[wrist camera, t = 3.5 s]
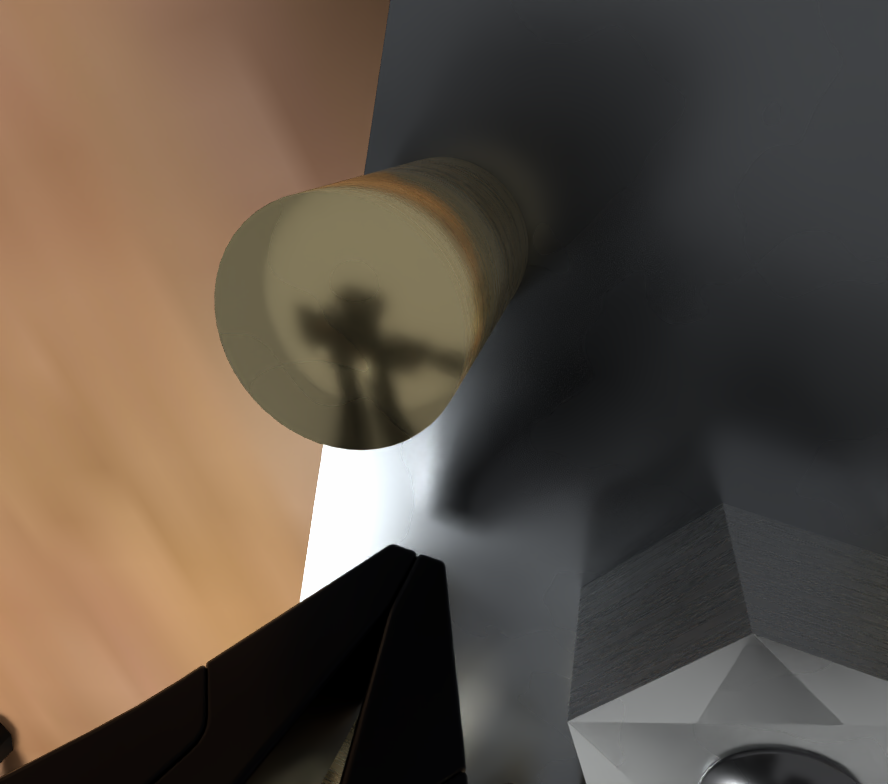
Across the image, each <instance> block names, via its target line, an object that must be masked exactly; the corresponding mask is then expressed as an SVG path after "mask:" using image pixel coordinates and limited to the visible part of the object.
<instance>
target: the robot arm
mask: <svg viewBox="0 0 888 784" xmlns="http://www.w3.org/2000/svg"><path fill="white" fill-rule="evenodd" d="M358 715H359V716H358ZM357 717H358V719H357ZM356 719H357V723H356V726H355V730H354V733H353V737H352V740H351V744H350V747H349V751H348V754H347V758H346V761H345V765H344V769H343V772H342V776H341V779H340V783H339V784H468V776H467V774H466V773H465V772H466V759H465V749H464V739H463V730H462V720H461V710H460V701H459V691H458V681H457V672H456V662H455V652H454V643H453V633H452V623H451V614H450V604H449V594H448V585H447V575H446V566H445V564H444V562H442V561H440V560H437V559H435V558H432V557H429V556H426V555H424V554H420V555H419V556H417V555H416V553H415V551H413V550H410V549H407V548H404V547H402V546H399V545H396V544H391V545H388V546H387V547H385V548H384V549H382V550H380V551H379V552H377V553H376V554H374V555H373V556H371V557H370V558H368V559H366V560H365V561H363V562H362V563H360V564H359V565H357V566H356V567H354V568H353V569H351V570H349V571H348V572H346V573H345V574H343V575H342V576H340V577H339V578H337V579H335V580H334V581H332V582H331V583H329V584H328V585H326V586H325V587H323V588H322V589H320V590H318V591H317V592H315V593H314V594H312V595H311V596H309V597H308V598H306V599H305V600H303V601H301V602H300V603H298V604H297V605H295V606H294V607H292V608H291V609H289V610H287V611H286V612H284V613H283V614H281V615H280V616H278V617H277V618H275V619H274V620H272V621H270V622H269V623H267V624H266V625H264V626H263V627H261V628H260V629H258V630H256V631H255V632H253V633H252V634H250V635H249V636H247V637H246V638H244V639H243V640H241V641H239V642H238V643H236V644H235V645H233V646H232V647H230V648H229V649H227V650H225V651H224V652H222V653H221V654H219V655H218V656H216V657H215V658H213V659H211V660H210V661H208V662H207V664H206V667H205V666H200V667H198V668H197V669H195V670H194V671H192V672H191V673H189V674H188V675H186V676H185V677H183V678H182V679H180V680H179V681H177V682H175V683H174V684H172V685H170V686H169V687H167V688H165V689H164V690H162V691H161V692H159V693H157V694H156V695H154V696H152V697H151V698H149V699H147V700H146V701H144V702H142V703H141V704H139V705H138V706H136V707H134V708H132V709H130V710H128V711H126V712H125V713H123V714H121V715H119V716H117V717H115V718H114V719H112V720H110V721H108V722H106V723H104V724H102V725H101V726H99V727H97V728H95V729H93V730H91V731H90V732H88V733H86V734H84V735H82V736H80V737H78V738H76V739H74V740H72V741H70V742H68V743H66V744H64V745H62V746H60V747H58V748H56V749H55V750H53V751H51V752H49V753H47V754H45V755H43V756H41V757H39V758H37V759H35V760H33V761H31V762H29V763H27V764H25V765H23V766H22V767H20V768H18V769H16V770H14V771H12V772H10V773H8V774H6V775H4V776H2V777H0V784H321V783H322V781H323V780H324V778H325V776H326V774H327V772H328V770H329V769H330V767H331V765H332V763H333V761H334V759H335V757H336V756H337V754H338V752H339V750H340V748H341V746H342V745H343V743H344V741H345V739H346V737H347V735H348V734H349V732H350V730H351V728H352V726H353V724H354V722H355V721H356Z"/></svg>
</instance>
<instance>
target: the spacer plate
mask: <svg viewBox="0 0 888 784" xmlns="http://www.w3.org/2000/svg"><path fill="white" fill-rule="evenodd" d="M215 315H216V323H217V328H218V332H219V336H220V340H221V343H222V346H223V349H224V351H225V354H226V357H227V359H228V361H229V363H230V365H231V367H232V369H233V371H234V372H235V374H236V376H237V377H238V379H239V380H240V382H241V383H242V385H243V386H244V388H245V389H246V390H247V391H248V393H249V394H250V395H251V397H252V398H253V399H254V400H255V401H256V402H257V403H258V404H259V405H260V406H261V407H262V408H263V409H264V410H265V411H266V412H267V413H268V414H269V415H271V416H272V417H273V418H274V419H275V420H277V421H278V422H280V423H281V424H282V425H284V426H285V427H287V428H288V429H290V430H292V431H293V432H295V433H297V434H299V435H301V436H303V437H305V438H307V439H310V440H312V441H315V442H317V443H320V444H323V451H322V458H321V464H320V471H319V477H318V484H317V491H316V497H315V504H314V511H313V517H312V524H311V531H310V537H309V544H308V551H307V557H306V564H305V570H304V577H303V584H302V590H301V597H300V602H301V601H303V600H305V599H306V598H308V597H309V596H311V595H312V594H314V593H315V592H317V591H318V590H320V589H322V588H323V587H325V586H326V585H328V584H329V583H331V582H332V581H334V580H335V579H337V578H339V577H340V576H342V575H343V574H345V573H346V572H348V571H349V570H351V569H353V568H354V567H356V566H357V565H359V564H360V563H362V562H363V561H365V560H366V559H368V558H370V557H371V556H373V555H374V554H376V553H377V552H379V551H380V550H382V549H384V548H385V547H387V546H388V545H391V544H396V545H399V546H402V547H404V548H407V549H410V550H413V551H415V553H416V555H417V556H419V555H420V554H424V555H426V556H429V557H432V558H435V559H437V560H440V561H442V562H444V564H445V566H446V575H447V585H448V594H449V604H450V614H451V623H452V633H453V643H454V652H455V662H456V672H457V681H458V691H459V701H460V710H461V720H462V730H463V739H464V749H465V759H466V772H465V773H466V774H467V776H468V784H586V781H585V778H584V774H583V771H582V768H581V765H580V761H579V758H578V755H577V752H576V748H575V745H574V742H573V739H572V735H571V732H570V729H569V726H568V722H567V720H568V711H569V701H570V691H571V681H572V671H573V661H574V651H575V642H576V632H577V622H578V612H579V602H580V592H581V588H582V587H584V586H585V585H587V584H589V583H590V582H592V581H594V580H595V579H597V578H599V577H600V576H602V575H604V574H605V573H607V572H609V571H610V570H612V569H614V568H615V567H617V566H619V565H620V564H622V563H624V562H625V561H627V560H629V559H630V558H632V557H634V556H635V555H637V554H639V553H640V552H642V551H644V550H645V549H647V548H649V547H650V546H652V545H654V544H655V543H657V542H659V541H660V540H662V539H664V538H665V537H667V536H669V535H670V534H672V533H674V532H675V531H677V530H679V529H680V528H682V527H684V526H685V525H687V524H689V523H690V522H692V521H694V520H695V519H697V518H699V517H700V516H702V515H704V514H705V513H707V512H709V511H710V510H712V509H714V508H715V507H717V506H719V505H720V504H722V503H724V504H727V505H730V506H733V507H736V508H739V509H742V510H745V511H748V512H751V513H754V514H757V515H760V516H763V517H766V518H769V519H772V520H776V521H779V522H782V523H785V524H788V525H791V526H794V527H797V528H800V529H803V530H806V531H809V532H812V533H815V534H818V535H821V536H825V537H828V538H831V539H834V540H837V541H840V542H843V543H846V544H849V545H852V546H855V547H858V548H861V549H864V550H867V551H870V552H874V553H877V554H880V555H883V556H886V557H888V0H390V6H389V13H388V19H387V26H386V33H385V39H384V46H383V53H382V59H381V66H380V72H379V79H378V86H377V92H376V99H375V106H374V112H373V119H372V126H371V132H370V139H369V146H368V152H367V159H366V165H365V172H364V175H363V176H359V177H355V178H352V179H348V180H345V181H341V182H337V183H334V184H330V185H326V186H323V187H319V188H315V189H312V190H308V191H304V192H301V193H297V194H293V195H290V196H286V197H283V198H281V199H278V200H276V201H274V202H271V203H269V204H268V205H266V206H264V207H263V208H261V209H260V210H258V211H257V212H255V213H254V214H253V215H252V216H251V217H250V218H248V219H247V220H246V221H245V222H244V223H243V224H242V226H241V227H240V228H239V229H238V230H237V232H236V233H235V234H234V236H233V237H232V239H231V241H230V242H229V244H228V246H227V247H226V250H225V252H224V254H223V257H222V259H221V262H220V265H219V269H218V273H217V277H216V285H215ZM358 716H359V715H358ZM357 719H358V717H357ZM357 719H356V721H355V722H354V724H353V726H352V728H351V730H350V732H349V734H348V735H347V737H346V739H345V741H344V743H343V745H342V746H341V748H340V750H339V752H338V754H337V756H336V757H335V759H334V761H333V763H332V765H331V767H330V769H329V770H328V772H327V774H326V776H325V778H324V780H323V781H322V783H321V784H339V783H340V779H341V776H342V772H343V769H344V765H345V761H346V758H347V754H348V751H349V747H350V744H351V740H352V737H353V733H354V730H355V726H356V723H357Z"/></svg>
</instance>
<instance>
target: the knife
mask: <svg viewBox="0 0 888 784" xmlns="http://www.w3.org/2000/svg"><path fill="white" fill-rule="evenodd" d="M12 751H13V746H12V736H11V734H10V733H9V732H8V731H7V729H6V728H5V727H4V726H3V725H2V724H1V723H0V763H1V762H2V761H3V760H4V759H5V758H6V757H7V756H8V755H9V754H10V753H11V752H12Z"/></svg>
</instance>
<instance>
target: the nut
mask: <svg viewBox="0 0 888 784" xmlns="http://www.w3.org/2000/svg"><path fill="white" fill-rule="evenodd" d="M567 722H568V726H569V729H570V732H571V735H572V739H573V742H574V745H575V748H576V752H577V755H578V758H579V761H580V765H581V768H582V771H583V774H584V778H585V781H586V784H888V557H886V556H883V555H880V554H877V553H874V552H870V551H867V550H864V549H861V548H858V547H855V546H852V545H849V544H846V543H843V542H840V541H837V540H834V539H831V538H828V537H825V536H821V535H818V534H815V533H812V532H809V531H806V530H803V529H800V528H797V527H794V526H791V525H788V524H785V523H782V522H779V521H776V520H772V519H769V518H766V517H763V516H760V515H757V514H754V513H751V512H748V511H745V510H742V509H739V508H736V507H733V506H730V505H727V504H724V503H722V504H720V505H719V506H717V507H715V508H714V509H712V510H710V511H709V512H707V513H705V514H704V515H702V516H700V517H699V518H697V519H695V520H694V521H692V522H690V523H689V524H687V525H685V526H684V527H682V528H680V529H679V530H677V531H675V532H674V533H672V534H670V535H669V536H667V537H665V538H664V539H662V540H660V541H659V542H657V543H655V544H654V545H652V546H650V547H649V548H647V549H645V550H644V551H642V552H640V553H639V554H637V555H635V556H634V557H632V558H630V559H629V560H627V561H625V562H624V563H622V564H620V565H619V566H617V567H615V568H614V569H612V570H610V571H609V572H607V573H605V574H604V575H602V576H600V577H599V578H597V579H595V580H594V581H592V582H590V583H589V584H587V585H585V586H584V587H582V588H581V592H580V602H579V612H578V622H577V632H576V642H575V651H574V661H573V671H572V681H571V691H570V701H569V711H568V720H567Z"/></svg>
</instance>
